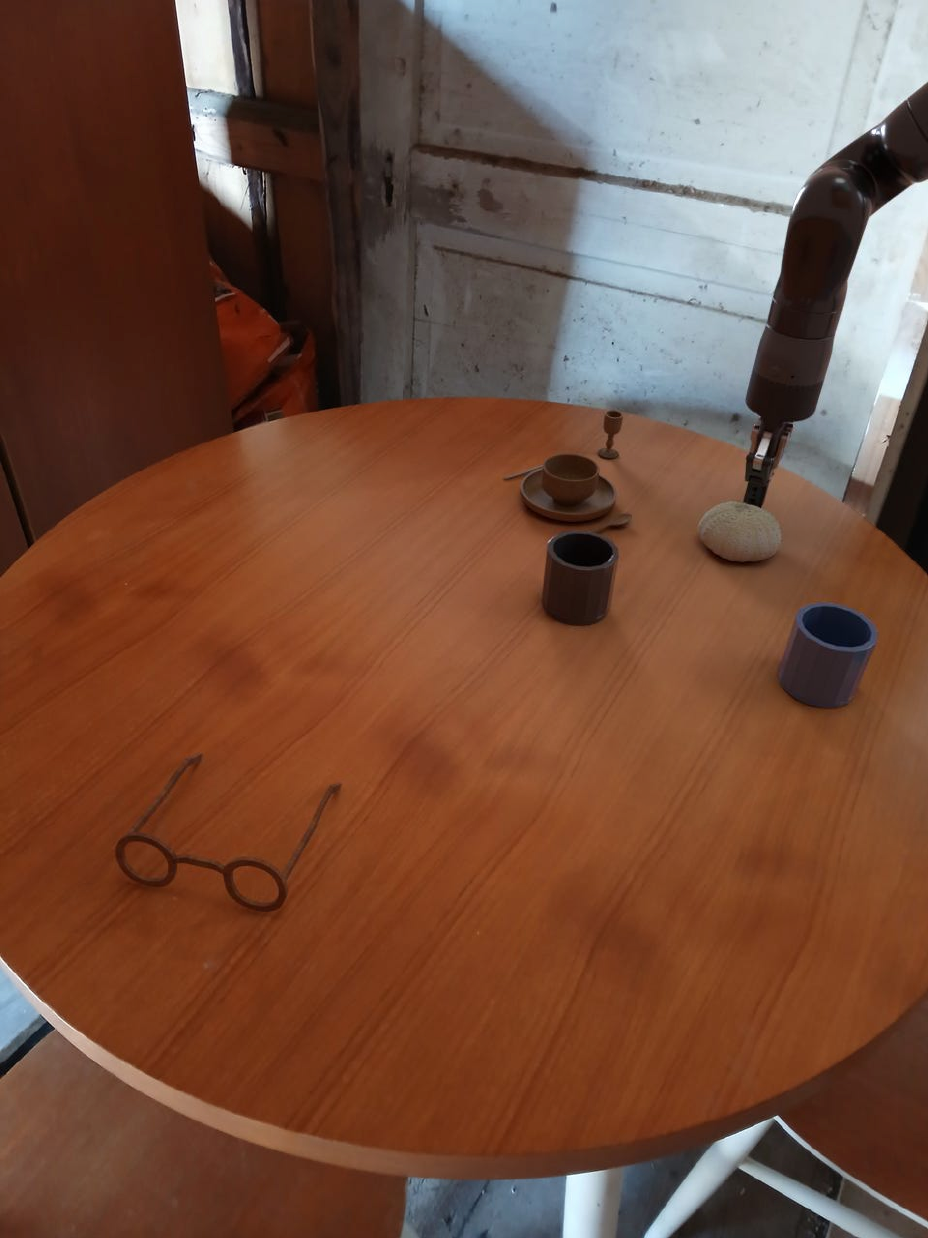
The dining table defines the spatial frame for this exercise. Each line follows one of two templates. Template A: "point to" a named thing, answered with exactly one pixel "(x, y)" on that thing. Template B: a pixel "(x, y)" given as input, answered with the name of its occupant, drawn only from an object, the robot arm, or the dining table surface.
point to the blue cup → (826, 654)
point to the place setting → (574, 484)
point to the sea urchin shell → (740, 532)
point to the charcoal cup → (579, 577)
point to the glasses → (227, 870)
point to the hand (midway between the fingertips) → (752, 505)
